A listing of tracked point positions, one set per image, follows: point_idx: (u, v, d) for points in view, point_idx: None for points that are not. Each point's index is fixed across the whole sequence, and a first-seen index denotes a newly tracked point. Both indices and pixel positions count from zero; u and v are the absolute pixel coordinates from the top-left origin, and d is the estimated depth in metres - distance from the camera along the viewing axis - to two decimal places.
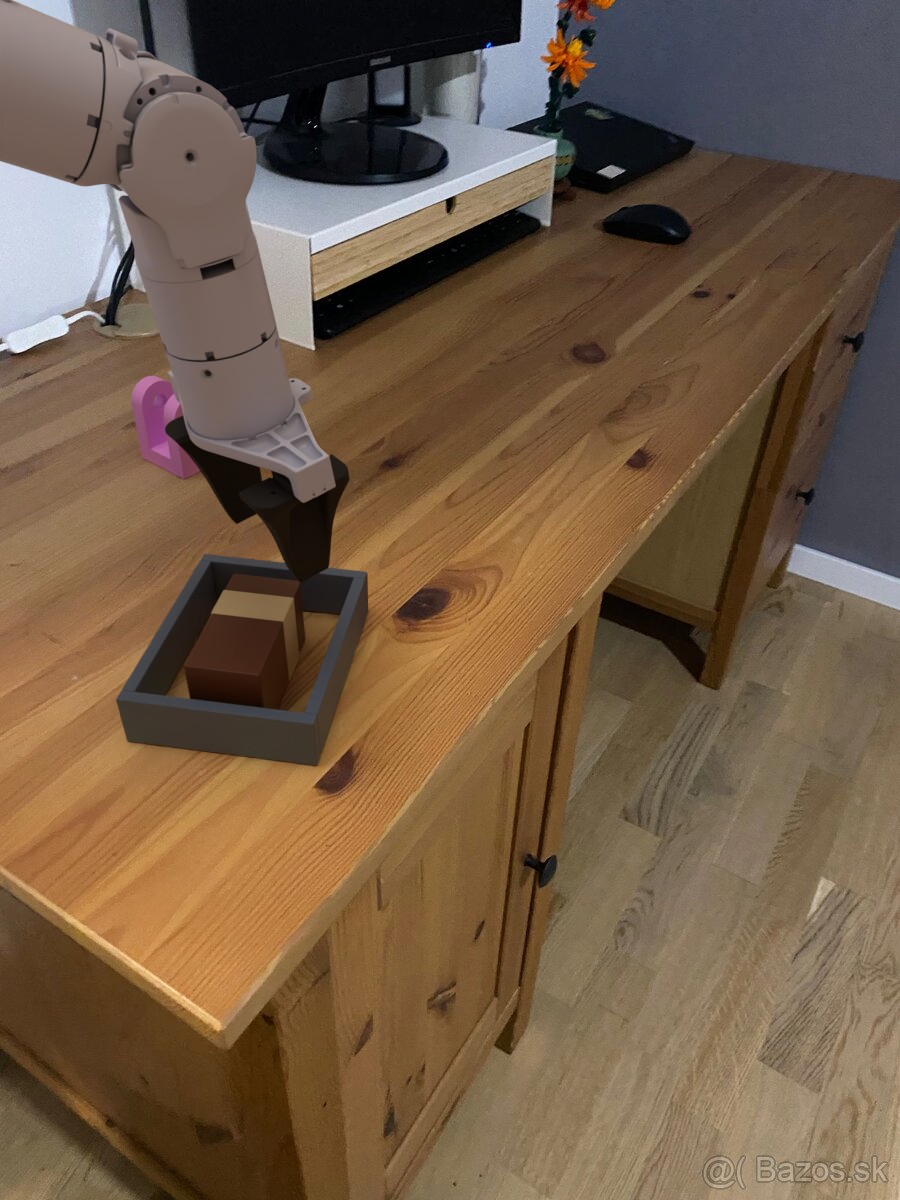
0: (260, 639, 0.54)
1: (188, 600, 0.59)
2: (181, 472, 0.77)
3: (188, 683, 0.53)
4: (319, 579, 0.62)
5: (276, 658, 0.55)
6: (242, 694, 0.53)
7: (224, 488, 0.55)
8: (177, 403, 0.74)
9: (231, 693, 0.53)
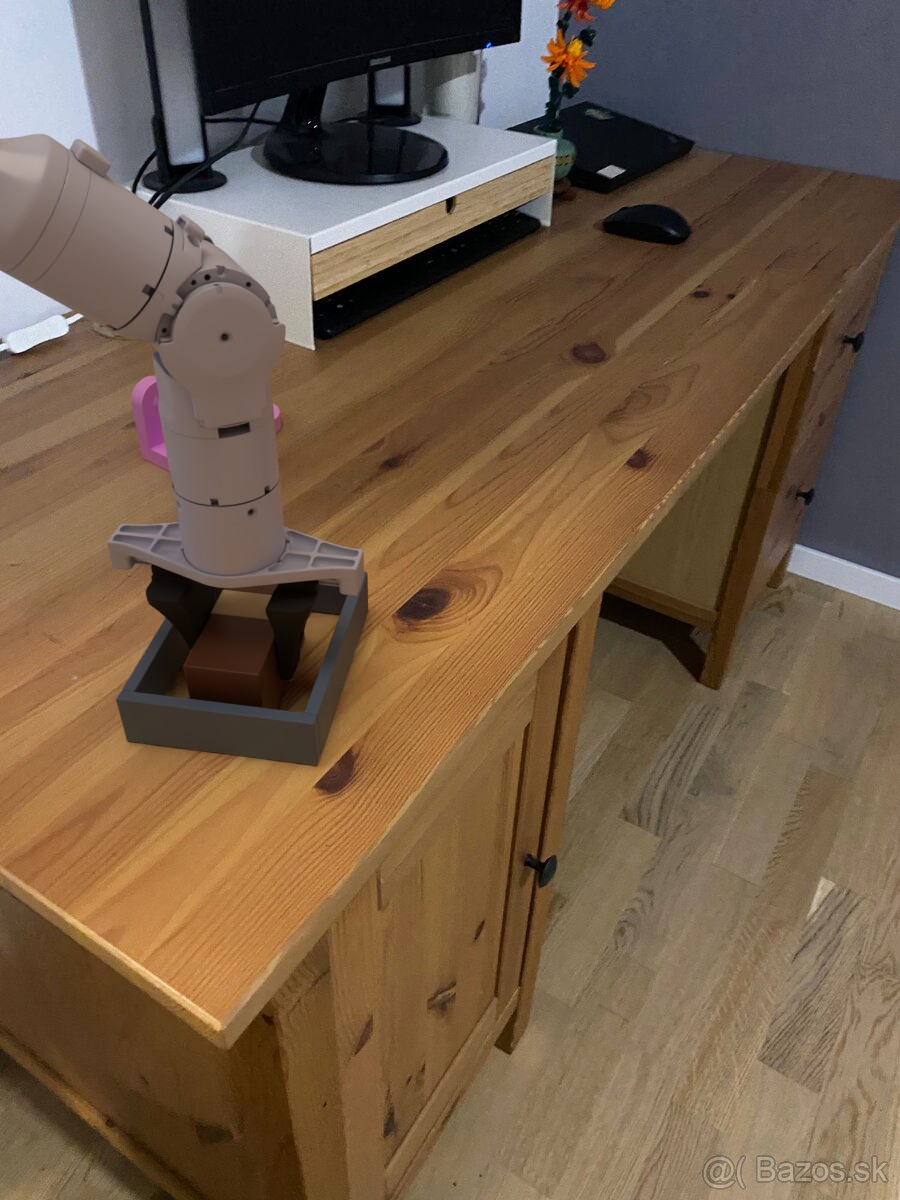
0: (259, 639, 0.54)
1: None
2: None
3: (187, 683, 0.53)
4: None
5: (275, 658, 0.55)
6: (241, 694, 0.53)
7: None
8: None
9: (230, 693, 0.53)
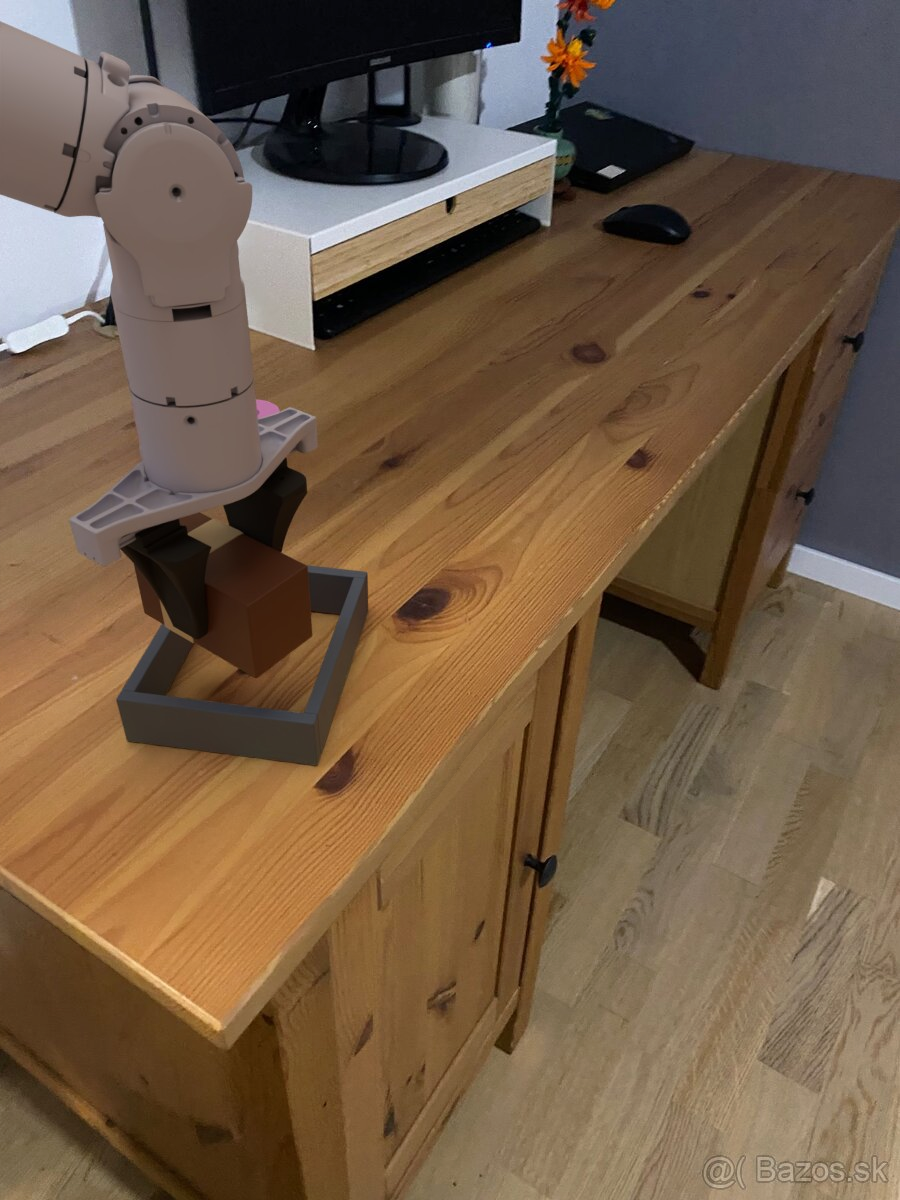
0: (256, 552, 0.49)
1: None
2: None
3: (251, 626, 0.46)
4: (319, 579, 0.62)
5: None
6: (295, 601, 0.49)
7: None
8: None
9: (286, 607, 0.48)
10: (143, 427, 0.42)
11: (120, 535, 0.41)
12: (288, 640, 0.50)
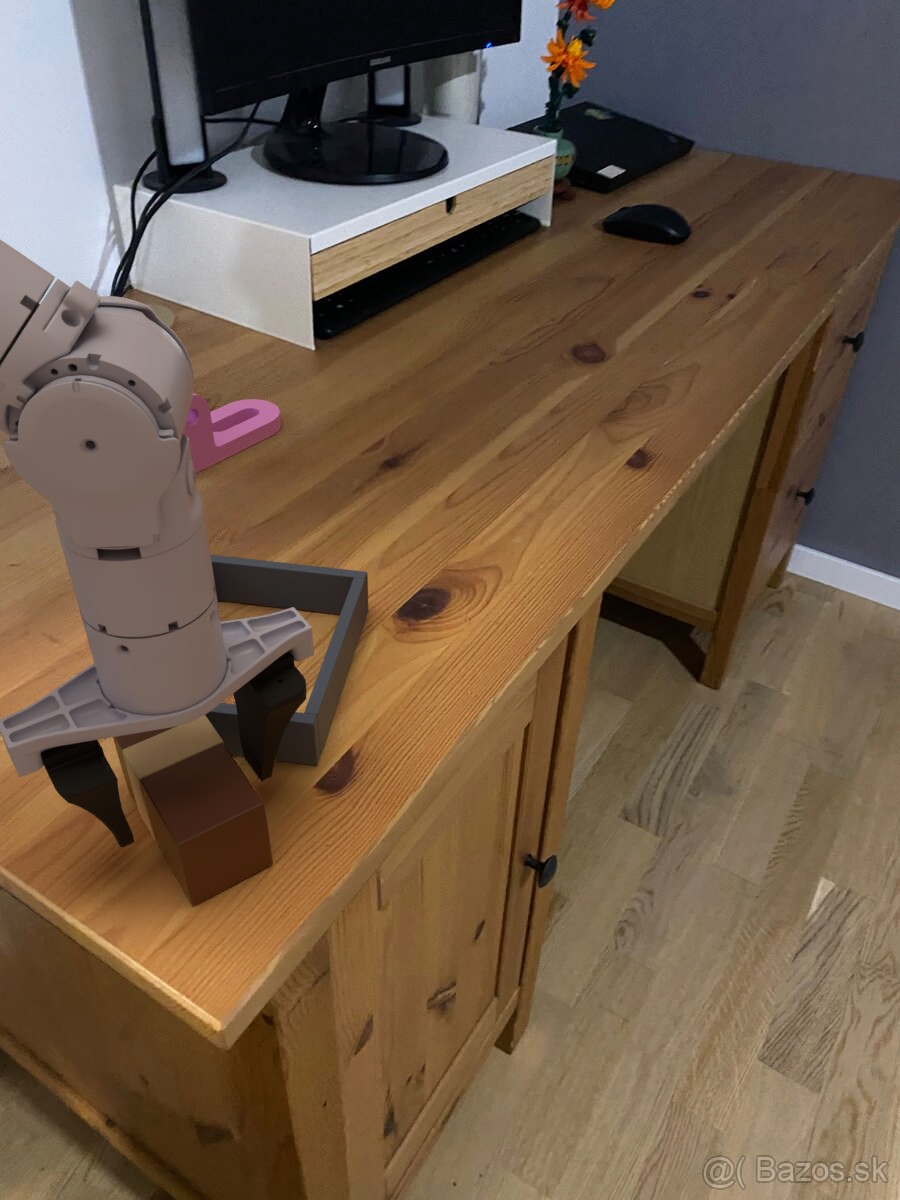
0: (222, 771, 0.46)
1: None
2: None
3: (184, 862, 0.43)
4: (319, 579, 0.62)
5: None
6: (246, 836, 0.45)
7: None
8: None
9: (234, 842, 0.45)
10: None
11: (39, 749, 0.39)
12: (237, 870, 0.46)
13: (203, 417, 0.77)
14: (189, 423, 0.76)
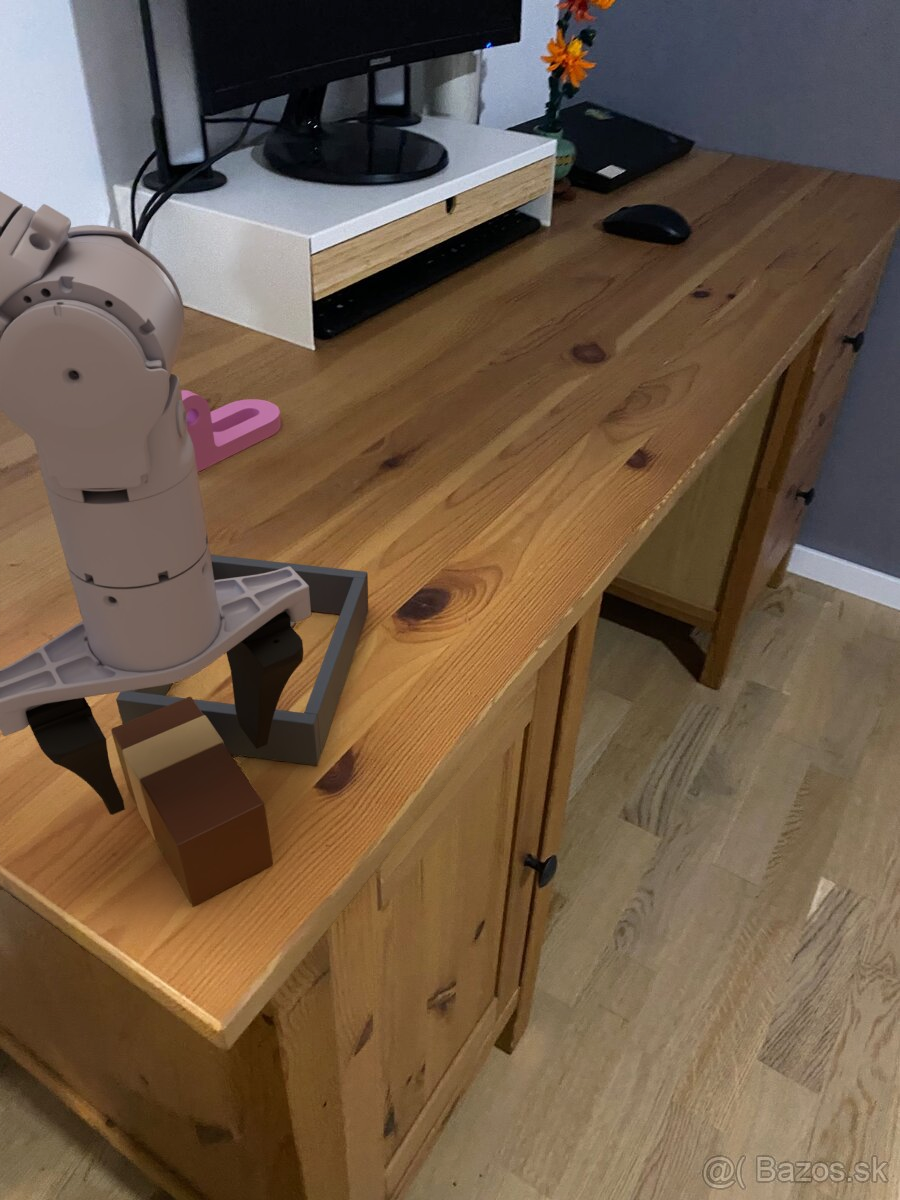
0: (223, 771, 0.46)
1: None
2: None
3: (184, 862, 0.43)
4: (319, 579, 0.62)
5: None
6: (246, 836, 0.45)
7: None
8: None
9: (234, 842, 0.45)
10: None
11: (24, 707, 0.38)
12: (237, 870, 0.46)
13: (203, 417, 0.77)
14: (189, 423, 0.76)
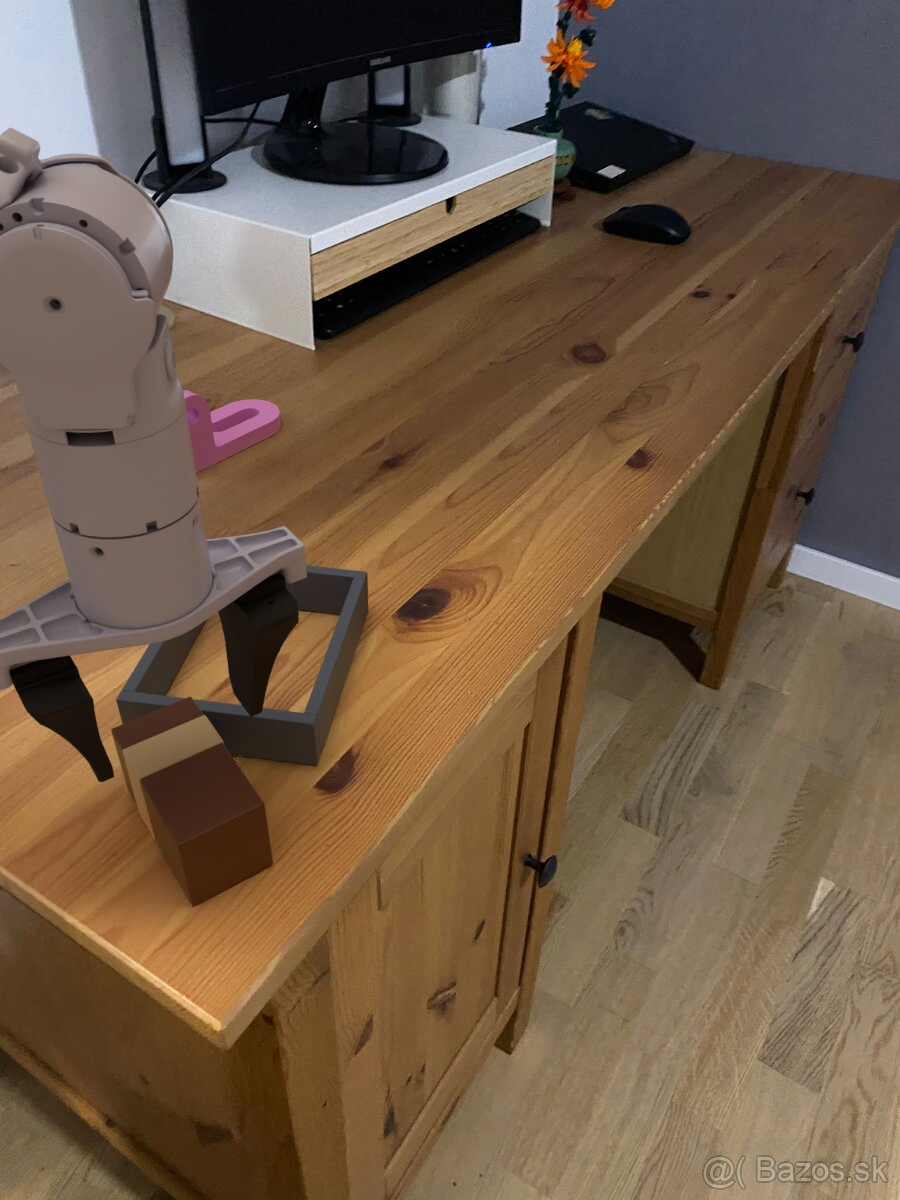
0: (223, 771, 0.46)
1: None
2: None
3: (184, 862, 0.43)
4: (319, 579, 0.62)
5: None
6: (246, 836, 0.45)
7: None
8: None
9: (234, 842, 0.45)
10: (60, 545, 0.36)
11: (7, 664, 0.36)
12: (237, 870, 0.46)
13: (203, 417, 0.77)
14: (189, 423, 0.76)
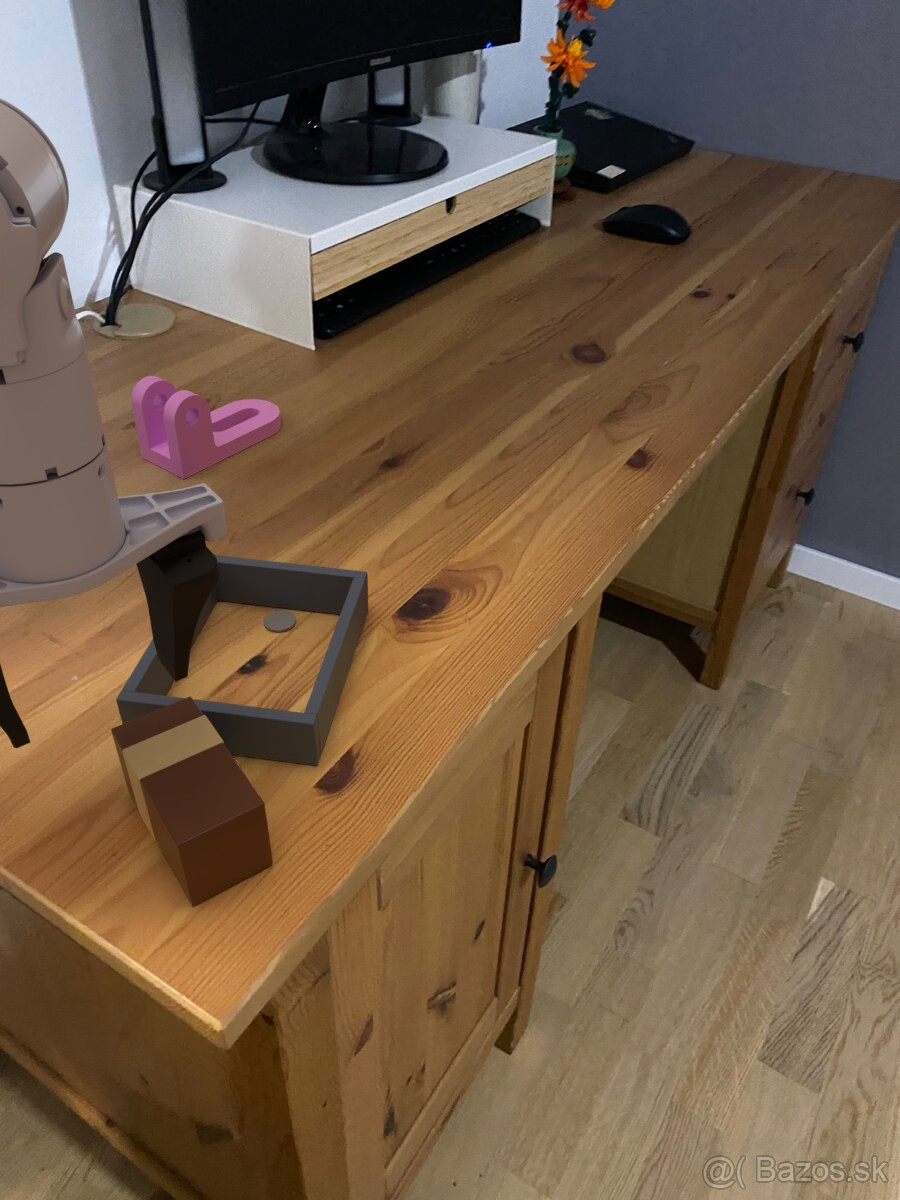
0: (223, 771, 0.46)
1: None
2: (181, 472, 0.77)
3: (184, 862, 0.43)
4: (319, 579, 0.62)
5: None
6: (246, 836, 0.45)
7: None
8: (177, 403, 0.74)
9: (234, 842, 0.45)
10: None
11: None
12: (237, 870, 0.46)
13: (203, 417, 0.77)
14: (189, 423, 0.76)
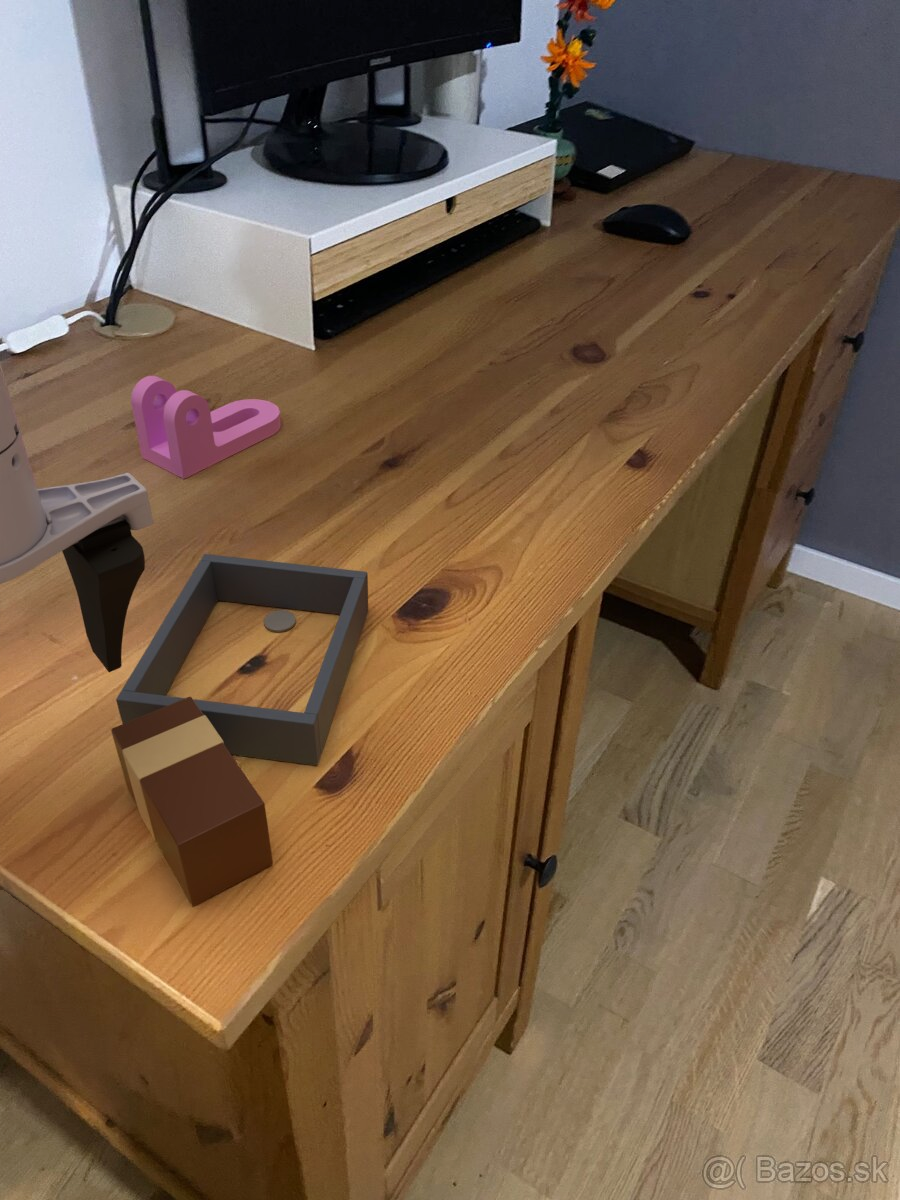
0: (223, 771, 0.46)
1: (188, 600, 0.59)
2: (181, 472, 0.77)
3: (184, 862, 0.43)
4: (319, 579, 0.62)
5: None
6: (246, 836, 0.45)
7: None
8: (177, 403, 0.74)
9: (234, 842, 0.45)
10: None
11: None
12: (237, 870, 0.46)
13: (203, 417, 0.77)
14: (189, 423, 0.76)
